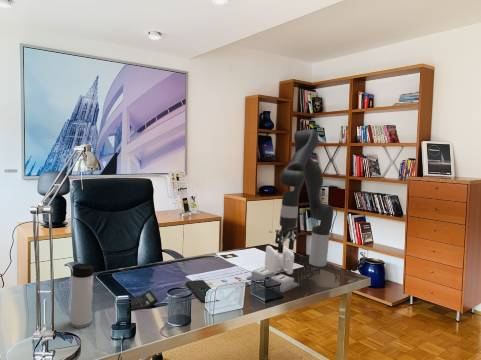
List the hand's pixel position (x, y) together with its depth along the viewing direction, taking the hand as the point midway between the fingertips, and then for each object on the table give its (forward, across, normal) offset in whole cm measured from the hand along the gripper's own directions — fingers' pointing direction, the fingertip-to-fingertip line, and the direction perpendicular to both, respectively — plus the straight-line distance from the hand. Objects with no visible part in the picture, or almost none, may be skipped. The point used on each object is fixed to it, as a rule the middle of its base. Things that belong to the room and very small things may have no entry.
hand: (285, 251), depth 167 cm
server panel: (+16, 0, -6) cm, 17 cm away
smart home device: (+17, +32, -18) cm, 41 cm away
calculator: (+17, +58, -25) cm, 66 cm away
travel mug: (+16, +81, -24) cm, 86 cm away
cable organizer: (+16, -15, -13) cm, 26 cm away
